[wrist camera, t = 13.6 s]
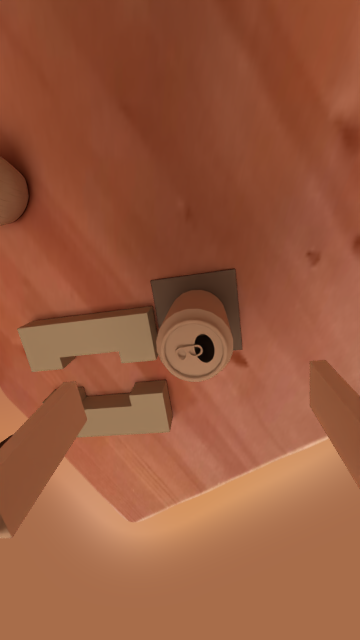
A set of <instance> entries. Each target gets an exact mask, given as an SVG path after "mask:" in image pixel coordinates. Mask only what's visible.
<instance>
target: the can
mask: <svg viewBox="0 0 360 640" xmlns="http://www.w3.org/2000/svg"><path fill="white" fill-rule="evenodd" d="M156 344H157V353H158V355H159V357H160V359H161V362H162V363H163V364H164V366H165V367H166V368H167V369H168V370H169V371H170V373H171V374H173V375H174V376H176V377H178V378H179V379H182V380H186V381H189V382H201V381H204V380H208V379H210V378H212V377H213V376H215V375H217V374H218V373H219V372H220V371H222V370H223V369H224V367H225V366H226V365H227V364H228V362H229V361H230V358H231V355H232V353H233V337H232V334H231V330H230V326H229V322H228V319H227V315H226V312H225V309H224V306H223V304H222V302H221V301H220V300H219V299H218V297H216V296H215V295H213V294H212V293H210V292H207V291H204V290H191V291H188V292H185V293H183V294H181V295H180V296H179V297H178V298H176V300H175V301H174V303H173V304H172V306H171V308H170V309H169V311H168V313H167V315H166V317H165V319H164V321H163V323H162V325H161V327H160V329H159V332H158V336H157V340H156Z"/></svg>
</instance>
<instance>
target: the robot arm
mask: <svg viewBox="0 0 360 640" xmlns="http://www.w3.org/2000/svg"><path fill="white" fill-rule="evenodd" d="M310 407H311V409H312V411H313V412H314V414H315V416H316V417H317V419H318V421H319V422H320V424H321V426H322V427H323V429H324V431H325V432H326V434H327V436H328V437H329V439H330V440H331V442H332V444H333V446H334V447H335V449H336V450H337V452H338V454H339V455H340V457H341V459H342V460H343V462H344V463H345V465H346V467H347V469H348V470H349V472H350V474H351V475H352V477H353V479H354V480H355V482H356V484H357V485H358V487H359V489H360V396H359V395H358V394H357V393H356V392H355V391H354V390H353V389H352V388H351V387H350V386H349V384H348V383H347V382H346V381H345V380H344V379H343V378H342V377H341V376H340V375H339V374H338V373H337V372H336V371H335V370H334V369H333V368H332V366H331V365H330V364H329V363H328V362H327V361H326V360H319V361H310ZM86 422H87V417H86V414H85V410H84V407H83V404H82V401H81V397H80V394H79V391H78V387H77V384H76V381H73V382H63V384H62V385H61V386H60V387H59V388H58V389H57V390H56V391H55V392H54V393H53V394H52V395H51V396H50V397H49V398H48V399H47V400H46V401H45V402H44V403H43V404H42V405H41V406H40V407H39V408H38V410H37V411H36V412H35V413H34V414H33V415H32V416H31V417H30V418H29V419H28V420H27V421H26V422H25V423H24V424H23V425H22V426H21V427H20V428H19V429H18V430H17V432H15V433H14V434H13V435H11V436H10V437H8V438H7V439H5V440H4V441H2V442H1V443H0V538H12V537H13V536H14V534H15V533H16V531H17V530H18V528H19V526H20V525H21V523H22V522H23V520H24V519H25V517H26V516H27V514H28V512H29V511H30V509H31V508H32V506H33V505H34V503H35V501H36V500H37V498H38V497H39V495H40V494H41V492H42V490H43V489H44V487H45V486H46V484H47V482H48V481H49V479H50V478H51V476H52V475H53V473H54V472H55V470H56V469H57V467H58V465H59V463H60V462H61V461H62V459H63V458H64V456H65V454H66V453H67V451H68V450H69V448H70V447H71V445H72V444H73V442H74V440H75V439H76V437H77V436H78V434H79V433H80V431H81V429H82V428H83V426H84V425H85V423H86Z"/></svg>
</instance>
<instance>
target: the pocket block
mask: <svg viewBox="0 0 360 640" xmlns="http://www.w3.org/2000/svg"><path fill="white" fill-rule="evenodd" d="M17 330H18V333H19V336H20V338H21V341H22V344H23V347H24V350H25V353H26V356H27V359H28V362H29V364H30V367H31V370H32V372H36V371H47V370H57V369H64V368H65V367H66V366H67V365H68V364H69V363H70V362H71V361H72V360H74V359H75V356H79V355H89V354H99V353H108V352H118V351H119V354H120V358H121V363H130V362H141V361H151V360H156V359H157V356H158V353H157V344H156V340H157V336H158V333H157V328H156V323H155V317H154V312H153V306H149V307H141V308H133V309H125V310H117V311H109V312H101V313H93V314H85V315H77V316H69V317H61V318H53V319H44V320H36V321H32V322H30V323H28V324H26V325H24V326H22V327H20V328H18V329H17ZM56 390H57V389H55V390H54V391H53V392H52V393H51V394H50V395H49V396H48V397H47V398H46V399H45V400H44V401H43V403H44V402H45V401H46V400H47V399H48V398H49V397H50V396H51V395H52V394H53V393H54V392H55V391H56ZM78 391H79V394H80V397H81V401H82V404H83V407H84V410H85V414H86V417H87V422H86V423H85V425H84V426H83V428H82V429H81V431H80V433H79V434H78V436H77V437H93V436H111V435H128V434H146V433H163V432H170V429H171V423H172V418H173V415H172V409H171V404H170V398H169V393H168V388H167V382H166V380H158V381H147V382H136V383H135V385H134V387H133V389H132V391H131V393H124V394H111V395H99V396H86V394H85V390H84V387H78Z"/></svg>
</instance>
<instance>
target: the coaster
mask: <svg viewBox="0 0 360 640" xmlns="http://www.w3.org/2000/svg"><path fill="white" fill-rule="evenodd" d="M151 286H152V292H153V297H154V303H155V308H156V314H157V319H158V325H159V329H160V327H161V325H162V323H163V321H164V319H165V317H166V315H167V313H168V311H169V309H170V308H171V306H172V304H173V303H174V301H175V300H176V298H178V297H179V296H180V295H181V294H183V293H185V292H188V291H191V290H204V291H207V292H210V293H212V294H213V295H215V296H216V297H218V299H219V300H220V301H221V302H222V304H223V306H224V309H225V312H226V315H227V319H228V322H229V326H230V330H231V334H232V337H233V350H242V340H241V328H240V317H239V306H238V294H237V283H236V271H235V269H230V270H223V271H216V272H208V273H201V274H194V275H187V276H179V277H172V278H165V279H158V280H151Z"/></svg>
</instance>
